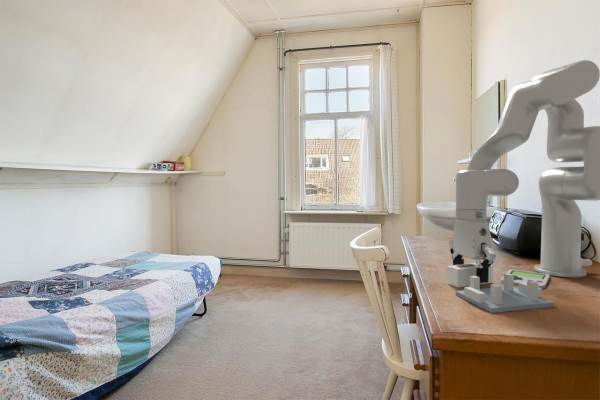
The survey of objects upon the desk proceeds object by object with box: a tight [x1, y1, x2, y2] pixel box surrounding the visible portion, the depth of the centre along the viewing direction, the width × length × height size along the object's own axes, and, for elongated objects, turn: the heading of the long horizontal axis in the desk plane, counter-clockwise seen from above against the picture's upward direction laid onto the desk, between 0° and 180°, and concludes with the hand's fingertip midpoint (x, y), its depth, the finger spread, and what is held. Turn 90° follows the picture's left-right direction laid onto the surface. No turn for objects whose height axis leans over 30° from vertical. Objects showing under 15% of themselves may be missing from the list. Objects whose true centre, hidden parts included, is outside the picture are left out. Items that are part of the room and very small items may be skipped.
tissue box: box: [446, 260, 494, 289], centre depth 96 cm, size 12×4×6 cm, turn 109°
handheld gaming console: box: [500, 268, 551, 289], centre depth 98 cm, size 10×2×15 cm
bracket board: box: [455, 272, 555, 314], centre depth 82 cm, size 16×12×5 cm
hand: (469, 277), depth 96 cm, fingers open, 9 cm apart
